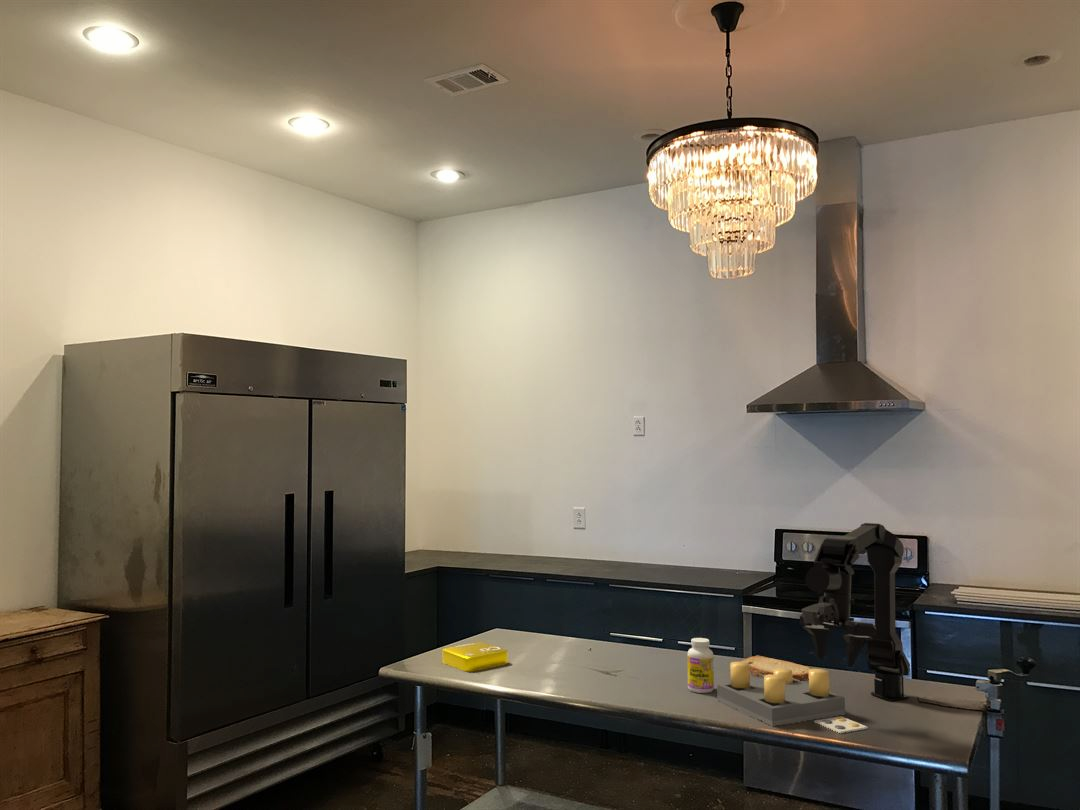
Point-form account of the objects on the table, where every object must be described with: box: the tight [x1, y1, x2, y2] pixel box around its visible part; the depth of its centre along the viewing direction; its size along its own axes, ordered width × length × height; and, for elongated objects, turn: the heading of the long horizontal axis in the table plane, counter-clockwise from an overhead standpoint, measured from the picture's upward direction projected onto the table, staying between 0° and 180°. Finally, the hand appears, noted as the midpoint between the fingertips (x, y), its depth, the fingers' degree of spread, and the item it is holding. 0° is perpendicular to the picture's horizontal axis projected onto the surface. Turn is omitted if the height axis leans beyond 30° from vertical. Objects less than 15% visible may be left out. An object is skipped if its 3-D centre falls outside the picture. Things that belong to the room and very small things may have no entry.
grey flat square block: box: [716, 677, 846, 727], centre depth 198 cm, size 21×21×4 cm
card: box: [813, 715, 868, 734], centre depth 185 cm, size 8×8×1 cm
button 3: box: [773, 668, 793, 684], centre depth 207 cm, size 5×5×5 cm
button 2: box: [764, 675, 785, 703], centre depth 190 cm, size 5×5×5 cm
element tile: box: [441, 641, 509, 673], centre depth 242 cm, size 15×15×5 cm
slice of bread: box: [740, 654, 811, 681], centre depth 229 cm, size 18×18×4 cm
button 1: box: [729, 661, 751, 688], centre depth 202 cm, size 5×5×5 cm
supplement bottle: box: [687, 637, 715, 694], centre depth 213 cm, size 7×7×13 cm
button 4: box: [808, 668, 830, 696], centre depth 195 cm, size 5×5×5 cm
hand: (834, 663), depth 186 cm, fingers open, 9 cm apart
